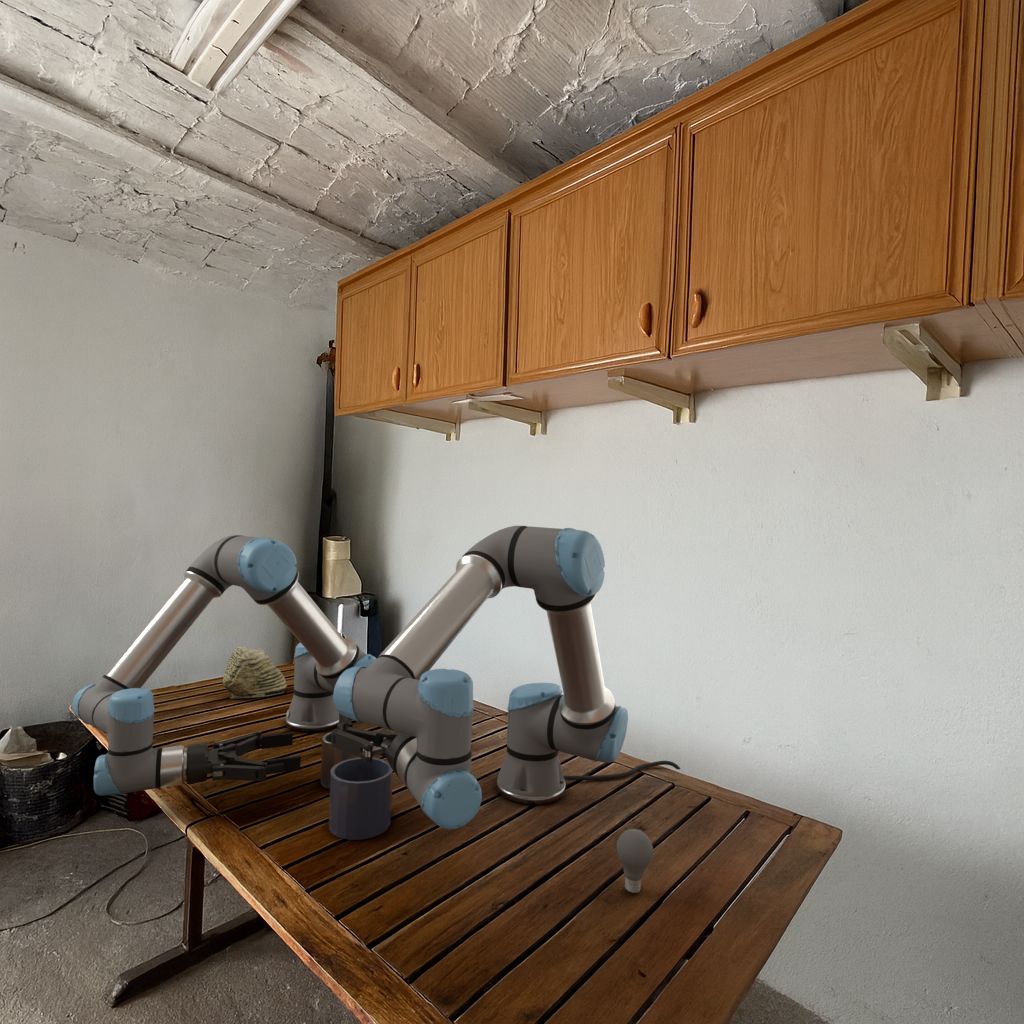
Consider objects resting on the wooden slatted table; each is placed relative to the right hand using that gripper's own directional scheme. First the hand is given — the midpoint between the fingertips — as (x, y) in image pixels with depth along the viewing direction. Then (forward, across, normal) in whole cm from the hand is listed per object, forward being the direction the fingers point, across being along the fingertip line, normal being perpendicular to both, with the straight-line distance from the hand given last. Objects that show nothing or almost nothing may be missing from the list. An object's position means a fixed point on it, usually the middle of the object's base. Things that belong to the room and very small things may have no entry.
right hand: (379, 715), depth 115 cm
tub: (+10, 0, -24) cm, 26 cm away
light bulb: (-30, +36, -24) cm, 52 cm away
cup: (+29, +1, -24) cm, 38 cm away
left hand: (+30, -9, -16) cm, 35 cm away
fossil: (+99, -10, -24) cm, 103 cm away
